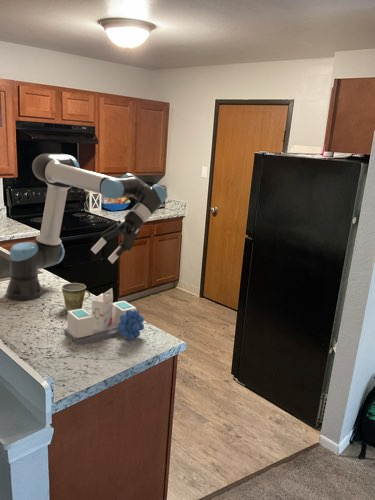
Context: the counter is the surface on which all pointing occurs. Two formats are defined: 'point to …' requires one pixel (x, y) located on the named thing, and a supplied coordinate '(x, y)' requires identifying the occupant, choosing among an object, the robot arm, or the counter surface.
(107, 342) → the counter surface
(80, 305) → the ceramic cup
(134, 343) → the counter surface
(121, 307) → the rail board
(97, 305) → the ink cartridge box
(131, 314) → the blue thick lobed disc
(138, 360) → the counter surface
